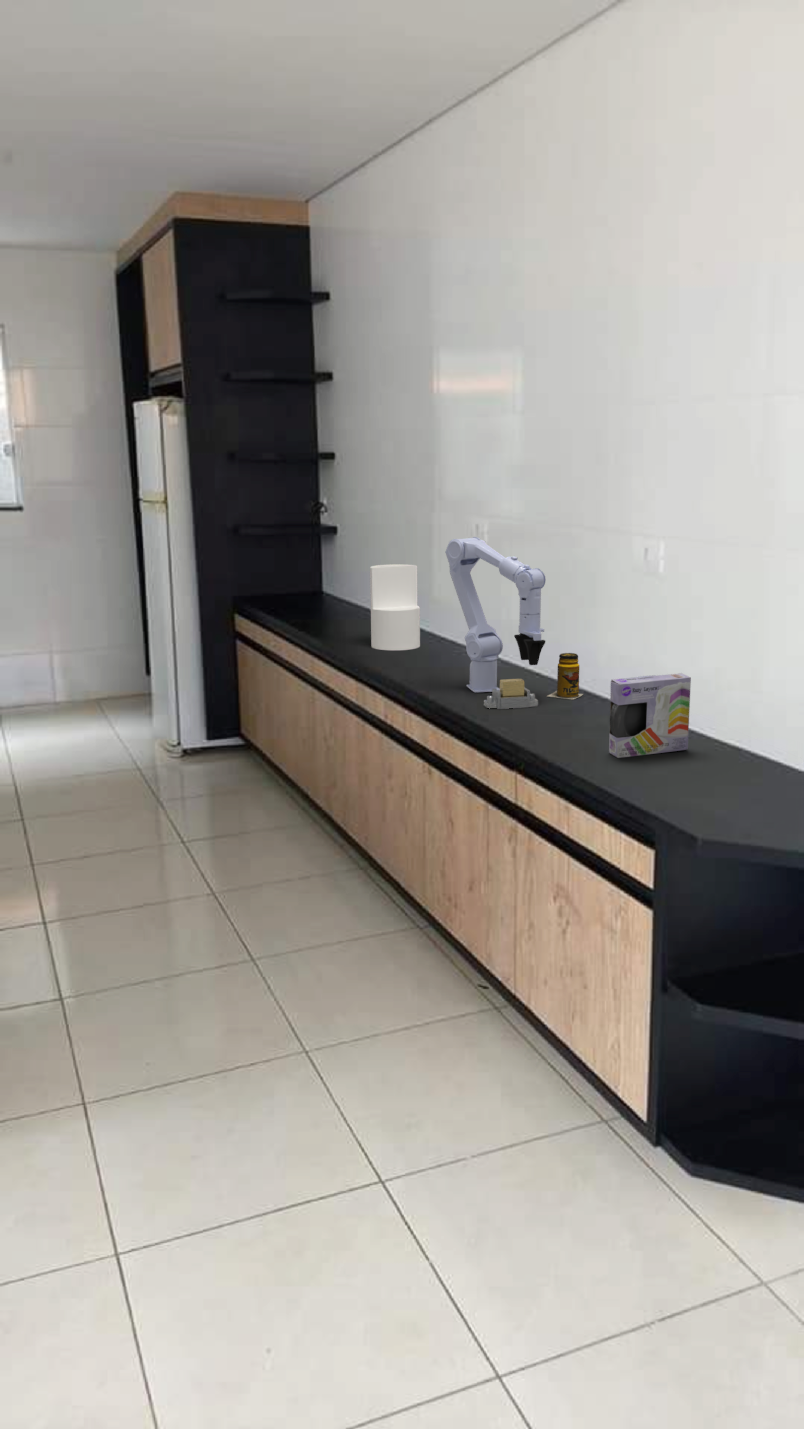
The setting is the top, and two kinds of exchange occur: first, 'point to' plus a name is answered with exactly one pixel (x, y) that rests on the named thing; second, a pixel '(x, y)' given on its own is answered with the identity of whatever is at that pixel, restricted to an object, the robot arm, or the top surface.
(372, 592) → the cylinder
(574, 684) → the condiment
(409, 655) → the top surface
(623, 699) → the cake pan box
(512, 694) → the tan block
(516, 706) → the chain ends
